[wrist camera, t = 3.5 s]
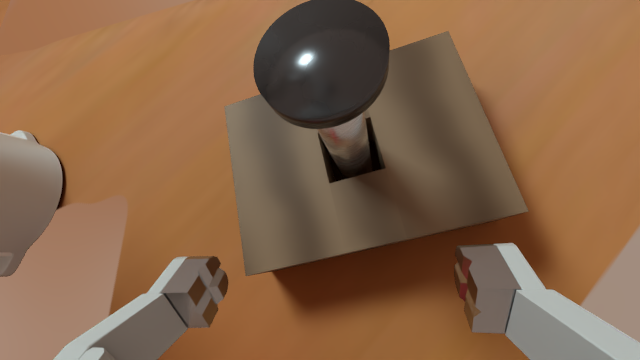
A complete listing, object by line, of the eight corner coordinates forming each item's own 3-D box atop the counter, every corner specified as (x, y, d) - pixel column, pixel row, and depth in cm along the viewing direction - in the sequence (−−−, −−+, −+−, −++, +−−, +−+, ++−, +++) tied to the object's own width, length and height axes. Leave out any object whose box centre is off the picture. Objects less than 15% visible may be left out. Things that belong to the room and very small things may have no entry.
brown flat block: (271, 271, 25) (245, 275, 21) (249, 129, 30) (224, 106, 25) (498, 219, 22) (528, 211, 18) (436, 69, 27) (448, 31, 22)
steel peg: (334, 203, 26) (264, 135, 11) (322, 149, 27) (245, 25, 12) (394, 188, 25) (408, 90, 10) (377, 133, 27) (367, -22, 11)
